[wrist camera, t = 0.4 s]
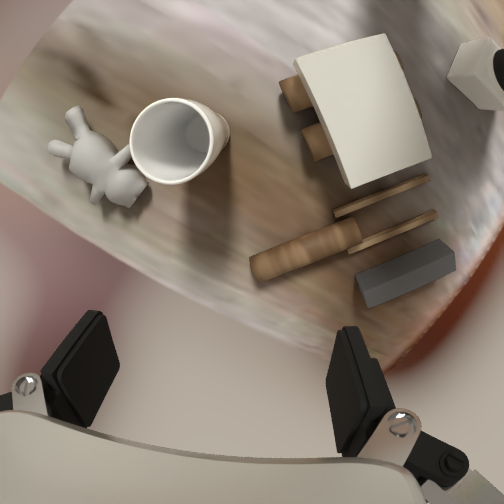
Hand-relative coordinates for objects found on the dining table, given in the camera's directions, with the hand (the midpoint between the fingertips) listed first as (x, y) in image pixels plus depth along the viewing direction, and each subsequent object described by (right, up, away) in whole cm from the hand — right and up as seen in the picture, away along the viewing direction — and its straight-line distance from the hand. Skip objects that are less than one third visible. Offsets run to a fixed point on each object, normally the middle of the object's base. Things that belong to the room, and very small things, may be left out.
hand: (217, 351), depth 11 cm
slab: (+13, +19, +17) cm, 28 cm away
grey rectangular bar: (+23, +2, +28) cm, 36 cm away
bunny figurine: (-18, +17, +25) cm, 35 cm away
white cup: (-4, +18, +23) cm, 29 cm away
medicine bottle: (+31, +28, +16) cm, 45 cm away
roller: (+8, +5, +28) cm, 30 cm away
